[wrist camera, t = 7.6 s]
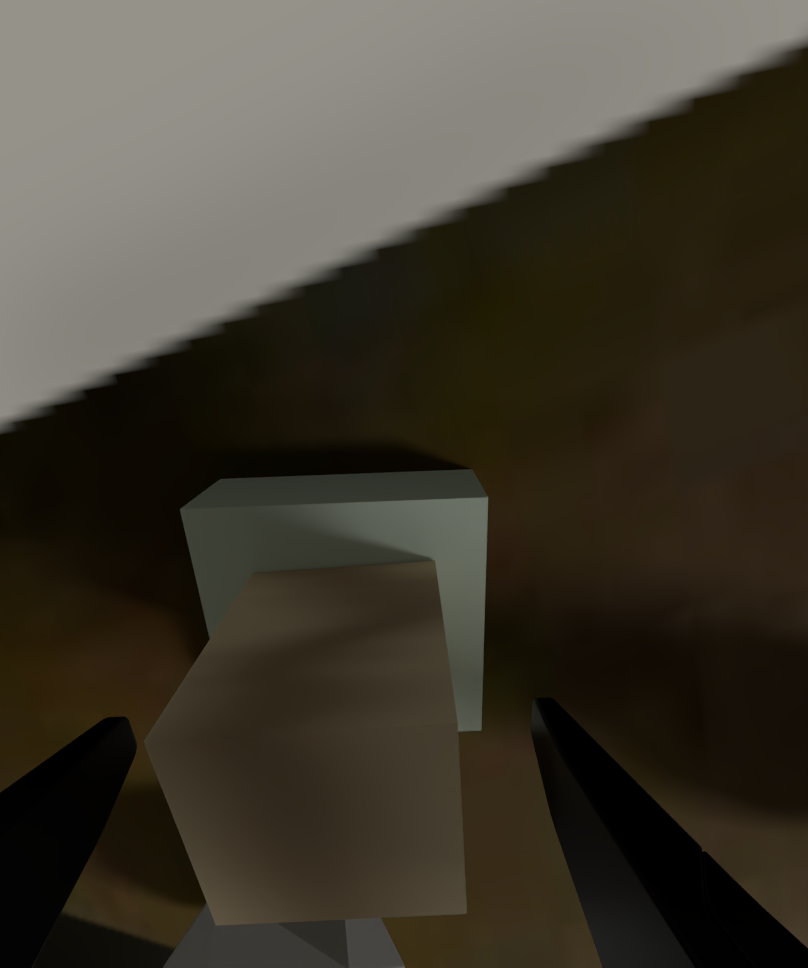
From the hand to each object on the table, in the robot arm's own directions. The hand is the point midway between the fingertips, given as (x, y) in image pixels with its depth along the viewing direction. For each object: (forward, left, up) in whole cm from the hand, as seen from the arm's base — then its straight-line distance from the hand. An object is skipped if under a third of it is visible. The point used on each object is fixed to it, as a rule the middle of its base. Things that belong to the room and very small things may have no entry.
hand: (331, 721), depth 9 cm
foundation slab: (0, 0, -6) cm, 6 cm away
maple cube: (0, 0, -3) cm, 3 cm away
